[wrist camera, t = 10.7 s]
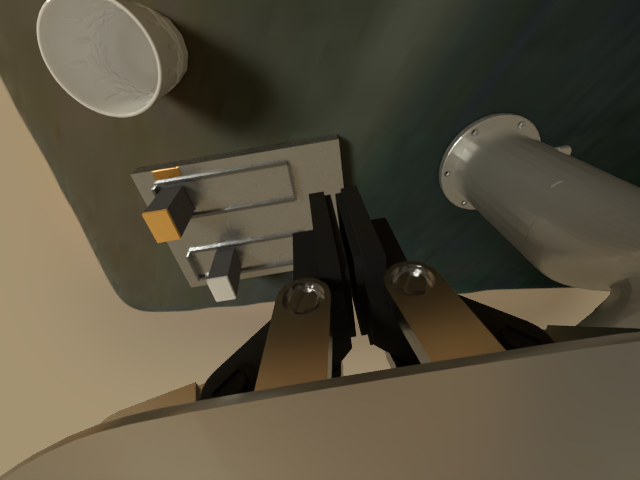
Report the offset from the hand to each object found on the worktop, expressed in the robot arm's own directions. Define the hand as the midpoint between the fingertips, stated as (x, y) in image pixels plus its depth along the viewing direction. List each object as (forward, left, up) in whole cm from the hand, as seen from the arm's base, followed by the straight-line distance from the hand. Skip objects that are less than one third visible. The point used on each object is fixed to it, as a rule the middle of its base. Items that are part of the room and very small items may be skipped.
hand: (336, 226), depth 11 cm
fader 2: (+14, +19, -25) cm, 34 cm away
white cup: (+14, -6, -27) cm, 31 cm away
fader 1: (+17, +9, -25) cm, 32 cm away
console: (+9, +14, -27) cm, 32 cm away
